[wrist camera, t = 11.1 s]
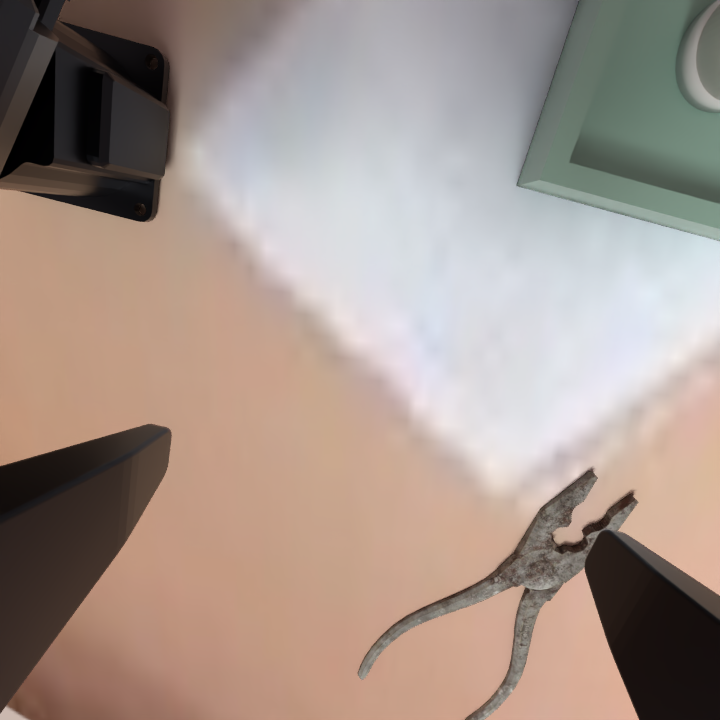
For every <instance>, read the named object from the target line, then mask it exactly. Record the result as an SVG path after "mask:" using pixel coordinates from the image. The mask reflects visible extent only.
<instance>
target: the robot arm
mask: <svg viewBox="0 0 720 720" xmlns="http://www.w3.org/2000/svg"><path fill="white" fill-rule="evenodd" d="M68 1H69V2H70V0H68ZM64 2H65V0H0V189H6V190H16V191H21V192H25V193H29V194H33V195H37V196H41V197H45V198H49V199H53V200H56V201H60V202H64V203H68V204H72V205H76V206H80V207H84V208H88V209H92V210H96V211H100V212H104V213H108V214H112V215H116V216H120V217H123V218H127V219H131V220H135V221H139V222H149V221H152V220H153V219H154V218H155V216H156V213H157V201H158V190H159V179H161V178H162V177H163V176H164V174H165V163H166V152H167V141H168V130H169V119H170V112H169V110H168V108H167V107H166V100H167V89H168V78H169V63H168V60H167V58H166V57H165V56H164V55H163V53H161V52H160V51H159V50H158V49H156V48H154V47H151V46H147V45H144V44H140V43H137V42H133V41H129V40H126V39H122V38H118V37H115V36H111V35H108V34H104V33H100V32H97V31H93V30H89V29H86V28H82V27H79V26H75V25H71V24H68V23H64V22H60V21H58V20H57V18H58V16H59V13H60V11H61V9H62V6H63V4H64ZM154 58H157V59H158V66H157V68H156V69H154V70H152V69H151V67H150V63H151V60H152V59H154ZM141 204H143V205H144V206H145V207H146V213H145V214H144V215H142V214H141V213H140V211H139V207H140V205H141ZM171 436H172V435H171V430H170V429H169V428H167V427H163V426H158V425H154V424H147V425H143V426H140V427H136V428H133V429H129V430H126V431H122V432H119V433H115V434H112V435H108V436H105V437H101V438H98V439H94V440H91V441H87V442H84V443H80V444H77V445H73V446H70V447H66V448H62V449H59V450H55V451H52V452H48V453H45V454H41V455H38V456H34V457H31V458H27V459H24V460H20V461H17V462H13V463H10V464H6V465H3V466H0V713H1V712H2V710H3V709H4V708H5V706H6V705H7V704H8V702H9V701H10V700H11V698H12V697H13V696H14V694H15V693H16V691H17V690H18V689H19V687H20V686H21V685H22V683H23V682H24V681H25V679H26V678H27V676H28V675H29V674H30V672H31V671H32V670H33V668H34V667H35V666H36V664H37V663H38V662H39V660H40V659H41V657H42V656H43V655H44V653H45V652H46V651H47V649H48V648H49V647H50V645H51V644H52V642H53V641H54V640H55V638H56V637H57V636H58V634H59V633H60V632H61V630H62V629H63V628H64V626H65V625H66V623H67V622H68V621H69V619H70V618H71V617H72V615H73V614H74V613H75V611H76V610H77V608H78V607H79V606H80V604H81V603H82V602H83V600H84V599H85V598H86V596H87V595H88V594H89V592H90V591H91V589H92V588H93V587H94V585H95V584H96V583H97V581H98V580H99V579H100V577H101V576H102V574H103V573H104V572H105V570H106V569H107V568H108V566H109V565H110V564H111V562H112V561H113V559H114V558H115V557H116V555H117V554H118V553H119V551H120V550H121V548H122V547H123V545H124V544H125V542H126V541H127V539H128V537H129V536H130V534H131V533H132V531H133V529H134V527H135V526H136V524H137V522H138V521H139V519H140V517H141V515H142V514H143V512H144V510H145V508H146V507H147V505H148V503H149V502H150V500H151V498H152V496H153V495H154V493H155V491H156V489H157V488H158V486H159V484H160V483H161V481H162V479H163V477H164V475H165V473H166V471H167V467H168V462H169V453H170V445H171ZM584 567H585V573H586V576H587V579H588V582H589V585H590V589H591V592H592V595H593V598H594V601H595V604H596V607H597V611H598V614H599V617H600V620H601V623H602V626H603V629H604V633H605V636H606V639H607V642H608V644H609V647H610V650H611V653H612V655H613V658H614V660H615V663H616V665H617V668H618V670H619V672H620V675H621V677H622V680H623V682H624V684H625V687H626V689H627V692H628V694H629V697H630V699H631V701H632V704H633V706H634V709H635V711H636V713H637V716H638V718H639V720H720V596H719V595H718V594H716V593H715V592H713V591H712V590H710V589H709V588H707V587H706V586H704V585H703V584H701V583H700V582H698V581H697V580H695V579H694V578H692V577H691V576H689V575H688V574H686V573H685V572H683V571H682V570H680V569H679V568H677V567H675V566H674V565H672V564H671V563H669V562H668V561H666V560H665V559H663V558H662V557H660V556H659V555H657V554H656V553H654V552H653V551H651V550H650V549H648V548H647V547H645V546H644V545H642V544H641V543H639V542H638V541H636V540H635V539H633V538H632V537H630V536H629V535H627V534H625V533H623V532H619V531H614V530H610V529H604V530H602V531H600V532H599V534H598V536H597V537H596V539H595V541H594V543H593V545H592V547H591V549H590V551H589V553H588V555H587V557H586V559H585V566H584Z"/></svg>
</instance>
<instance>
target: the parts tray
mask: <svg viewBox="0 0 720 720" xmlns="http://www.w3.org/2000/svg"><path fill="white" fill-rule="evenodd" d="M714 1H716V0H579V3H578V6H577V9H576V12H575V15H574V18H573V21H572V24H571V27H570V30H569V33H568V36H567V39H566V42H565V45H564V48H563V51H562V54H561V56H560V59H559V62H558V65H557V68H556V71H555V74H554V77H553V80H552V83H551V86H550V89H549V92H548V95H547V98H546V101H545V104H544V107H543V110H542V113H541V116H540V119H539V121H538V124H537V127H536V130H535V133H534V136H533V139H532V142H531V145H530V148H529V151H528V154H527V157H526V160H525V163H524V166H523V169H522V172H521V175H520V178H519V181H518V183H517V186H519V187H522V188H526V189H530V190H534V191H537V192H541V193H545V194H548V195H552V196H556V197H559V198H563V199H567V200H570V201H574V202H578V203H582V204H585V205H589V206H593V207H596V208H600V209H604V210H607V211H611V212H615V213H618V214H622V215H626V216H630V217H633V218H637V219H641V220H644V221H648V222H652V223H655V224H659V225H663V226H666V227H670V228H674V229H678V230H681V231H685V232H689V233H692V234H696V235H700V236H703V237H707V238H711V239H714V240H718V241H720V113H708V112H704V111H701V110H699V109H696V108H695V107H693V106H692V105H691V104H689V103H688V102H687V101H686V99H685V98H684V97H683V95H682V94H681V92H680V90H679V87H678V84H677V80H676V71H675V68H676V57H677V53H678V49H679V46H680V43H681V40H682V38H683V36H684V34H685V32H686V30H687V29H688V27H689V26H690V24H691V23H692V22H693V20H694V19H695V18H696V17H697V16H698V15H699V13H700V12H701V11H703V10H704V9H705V8H706V7H707V6H709V5H710V4H711V3H713V2H714Z"/></svg>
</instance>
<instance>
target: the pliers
mask: <svg viewBox="0 0 720 720" xmlns="http://www.w3.org/2000/svg"><path fill="white" fill-rule="evenodd" d="M597 479H598V478H597V477H596V475H595V474H594V473H593V472H590V471H589V472H588V473H586V474H585V475H584V476H583V477H581V478H580V479H579V480H577V481H576V482H575V483H573V484H572V485H571V486H570V487H568V488H567V489H566V490H564V491H563V492H562V493H561V494H559V495H558V496H557V497H555V498H554V499H553V500H552V501H550V502H549V503H548V504H546V505H545V506H544V507H542V508H541V509H540V511H539V512H538V514H537V515H536V517H535V519H534V520H533V522H532V524H531V525H530V527H529V529H528V530H527V532H526V533H525V535H524V537H523V538H522V540H521V542H520V543H519V545H518V547H517V548H516V550H515V551H514V552H515V553H514V554H513V555H511V556H510V557H509V558H508V559H507V560H506V561H505V562H504V563H503V564H502V565H501V566H500V567H499V568H498V569H497V570H496V571H495V572H493V573H492V574H491V575H490V576H488V577H487V578H486V579H484V580H482V581H481V582H479V583H477V584H475V585H474V586H472V587H469V588H467V589H465V590H463V591H461V592H459V593H457V594H454V595H452V596H450V597H447V598H445V599H443V600H441V601H438V602H436V603H434V604H431V605H429V606H427V607H424V608H422V609H420V610H418V611H416V612H414V613H412V614H410V615H408V616H406V617H405V618H403V619H402V620H401V621H399V622H398V623H396V624H395V625H393V626H392V627H391V628H390V629H389V630H388V631H387V632H386V633H384V634H383V635H382V636H381V637H380V638H379V640H378V641H377V642H376V643H375V644H374V645H373V646H372V648H371V649H370V651H369V652H368V653H367V655H366V656H365V658H364V660H363V662H362V664H361V666H360V669H359V672H358V676H359V678H360V679H361V680H363V679H364V678H365V677H366V676H367V674H368V672H369V671H370V669H371V667H372V665H373V663H374V662H375V660H376V659H377V658H378V656H379V655H380V654H381V652H382V651H383V650H384V649H385V648H386V647H387V646H388V645H389V644H390V643H391V642H393V641H394V640H395V639H396V638H398V637H399V636H400V635H401V634H403V633H404V632H406V631H408V630H409V629H411V628H413V627H415V626H417V625H419V624H422V623H424V622H426V621H429V620H431V619H434V618H437V617H439V616H442V615H445V614H448V613H451V612H454V611H456V610H459V609H462V608H465V607H468V606H471V605H473V604H476V603H479V602H481V601H484V600H486V599H488V598H490V597H492V596H494V595H496V594H498V593H500V592H502V591H504V590H506V589H509V588H511V587H513V586H515V587H518V586H520V585H523V586H525V587H526V588H525V590H524V593H523V596H522V598H521V601H520V604H519V607H518V611H517V614H516V620H515V628H514V640H513V649H512V656H511V662H510V666H509V670H508V672H507V675H506V677H505V679H504V681H503V683H502V684H501V686H500V687H499V689H498V690H497V691H496V692H495V694H494V695H493V696H492V697H491V699H490V700H489V701H487V702H486V703H485V704H484V705H483V706H482V707H481V708H479V709H478V710H477V711H475V712H474V713H473V714H471V715H470V716H469V717H467V718H466V719H465V720H484V719H486V718H487V717H488V716H489V715H491V714H492V713H493V712H494V711H495V710H496V709H498V708H499V706H500V705H501V704H502V703H503V702H504V701H505V700H506V699H507V698H508V696H509V695H510V694H511V692H512V691H513V690H514V688H515V687H516V685H517V683H518V681H519V679H520V678H521V676H522V673H523V670H524V667H525V664H526V660H527V655H528V651H529V646H530V641H531V637H532V632H533V628H534V624H535V621H536V618H537V615H538V613H539V610H540V608H541V607H542V606H543V604H544V603H545V602H546V601H550V600H551V599H552V598H553V596H554V595H555V594H556V593H557V591H558V590H559V589H560V588H561V586H562V585H563V584H564V583H566V582H567V581H569V580H570V579H571V578H572V577H574V576H575V575H576V574H578V573H579V572H580V571H581V570H582V569H583V568H584V566H585V559H586V557H587V555H588V553H589V551H590V549H591V547H592V545H593V543H594V541H595V539H596V537H597V536H598V534H599V532H600V531H602V530H604V529H610V530H614V531H618V529H619V528H620V527H621V525H622V524H623V523H624V521H625V520H626V519H627V517H628V516H629V514H630V513H631V512H632V510H633V509H634V508H635V506H636V505H637V504H638V501H637V500H636V499H635V498H634V497H633V496H632V495H631V494H629V495H628V496H626V497H625V498H624V499H623V500H621V501H620V502H619V503H617V504H616V505H615V506H613V507H612V508H611V509H609V510H608V511H607V513H606V515H605V517H604V519H603V520H601V522H599V523H597V524H595V525H590V526H587V527H586V528H584V529H583V530H582V532H583V535H584V538H583V540H582V541H581V543H580V544H578V545H575V546H572V547H571V546H567V545H562V546H561V547H560V548H557V547H556V546H557V545H556V543H555V541H554V540H553V538H551V537H552V532H554V531H555V530H556V529H557V528H559V527H568V526H569V525H570V523H571V519H572V518H571V517H572V516H571V515H572V514H571V513H572V511H573V509H574V508H575V506H577V505H579V503H582V502H584V500H585V498H586V497H587V495H588V493H589V492H590V490H591V488H592V487H593V485H594V483H595V482H596V480H597ZM563 582H564V583H563Z"/></svg>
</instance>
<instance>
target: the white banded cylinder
mask: <svg viewBox="0 0 720 720" xmlns="http://www.w3.org/2000/svg"><path fill="white" fill-rule="evenodd" d="M675 71H676V80H677V84H678V87H679V90H680V92H681V94H682V95H683V97H684V98H685V99H686V101H687V102H688V103H689V104H691V105H692V106H693V107H695V108H696V109H699V110H701V111H704V112H708V113H720V0H716V1H714V2H713V3H711V4H710V5H709V6H707V7H706V8H705V9H704V10H703V11H701V12H700V13H699V15H698V16H697V17H696V18H695V19H694V20H693V22H692V23H691V24H690V26H689V27H688V29H687V30H686V32H685V34H684V36H683V38H682V40H681V43H680V46H679V49H678V53H677V57H676V68H675Z"/></svg>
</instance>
